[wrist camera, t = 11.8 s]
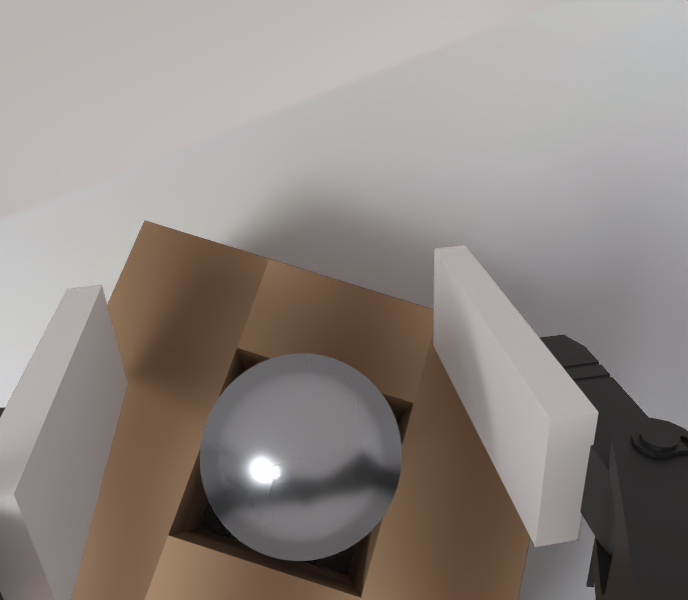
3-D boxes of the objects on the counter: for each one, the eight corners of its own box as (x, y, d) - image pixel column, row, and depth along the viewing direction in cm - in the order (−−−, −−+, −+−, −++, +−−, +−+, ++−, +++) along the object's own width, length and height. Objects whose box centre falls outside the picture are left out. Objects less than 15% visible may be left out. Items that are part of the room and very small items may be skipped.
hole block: (55, 578, 20) (-25, 603, 15) (177, 280, 23) (144, 220, 18) (438, 704, 19) (483, 770, 14) (510, 383, 22) (567, 350, 17)
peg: (233, 492, 21) (168, 521, 10) (268, 396, 21) (242, 327, 11) (329, 525, 20) (367, 589, 10) (360, 427, 21) (425, 389, 11)
